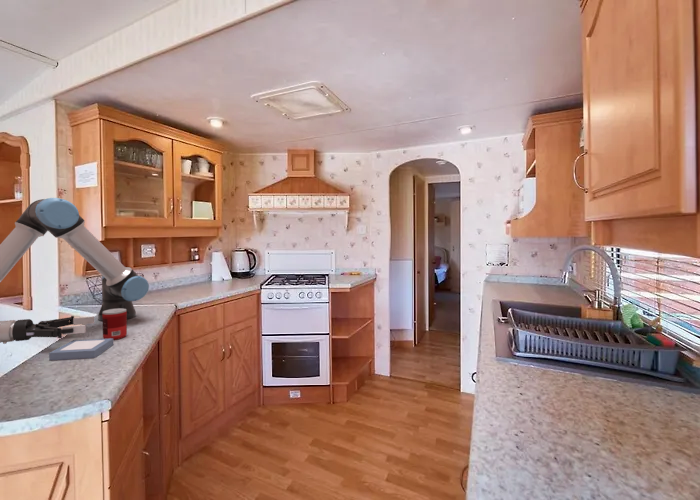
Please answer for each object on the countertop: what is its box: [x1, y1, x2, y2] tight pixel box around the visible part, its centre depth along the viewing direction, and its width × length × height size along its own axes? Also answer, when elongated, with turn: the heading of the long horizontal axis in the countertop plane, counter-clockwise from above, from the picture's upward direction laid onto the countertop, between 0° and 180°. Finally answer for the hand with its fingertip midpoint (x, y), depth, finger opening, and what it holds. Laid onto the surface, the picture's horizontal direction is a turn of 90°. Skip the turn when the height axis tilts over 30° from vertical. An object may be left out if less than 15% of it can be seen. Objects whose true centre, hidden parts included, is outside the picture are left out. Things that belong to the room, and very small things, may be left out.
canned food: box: [101, 308, 128, 341], centre depth 130 cm, size 8×8×11 cm
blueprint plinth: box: [48, 338, 114, 361], centre depth 114 cm, size 13×13×3 cm
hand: (90, 324), depth 126 cm, fingers open, 13 cm apart
